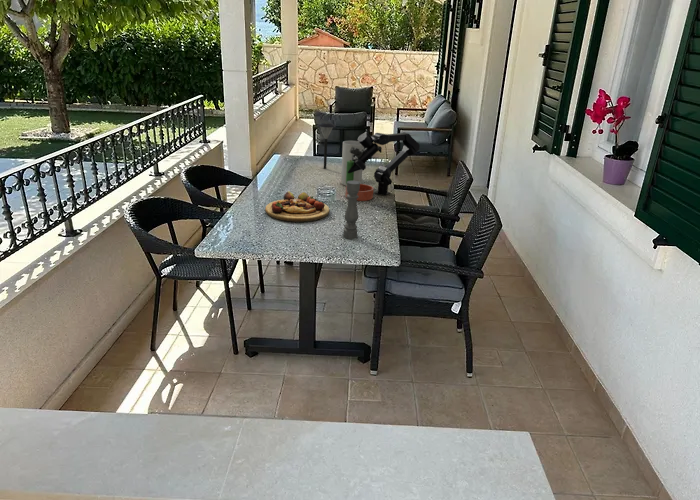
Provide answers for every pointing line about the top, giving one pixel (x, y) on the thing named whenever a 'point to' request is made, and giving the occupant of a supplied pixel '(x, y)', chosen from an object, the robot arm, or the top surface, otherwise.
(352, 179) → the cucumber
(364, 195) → the pot
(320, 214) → the wooden plate
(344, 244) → the top surface
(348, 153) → the cylinder vase
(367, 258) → the top surface
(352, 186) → the candle holder
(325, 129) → the solar garden light
